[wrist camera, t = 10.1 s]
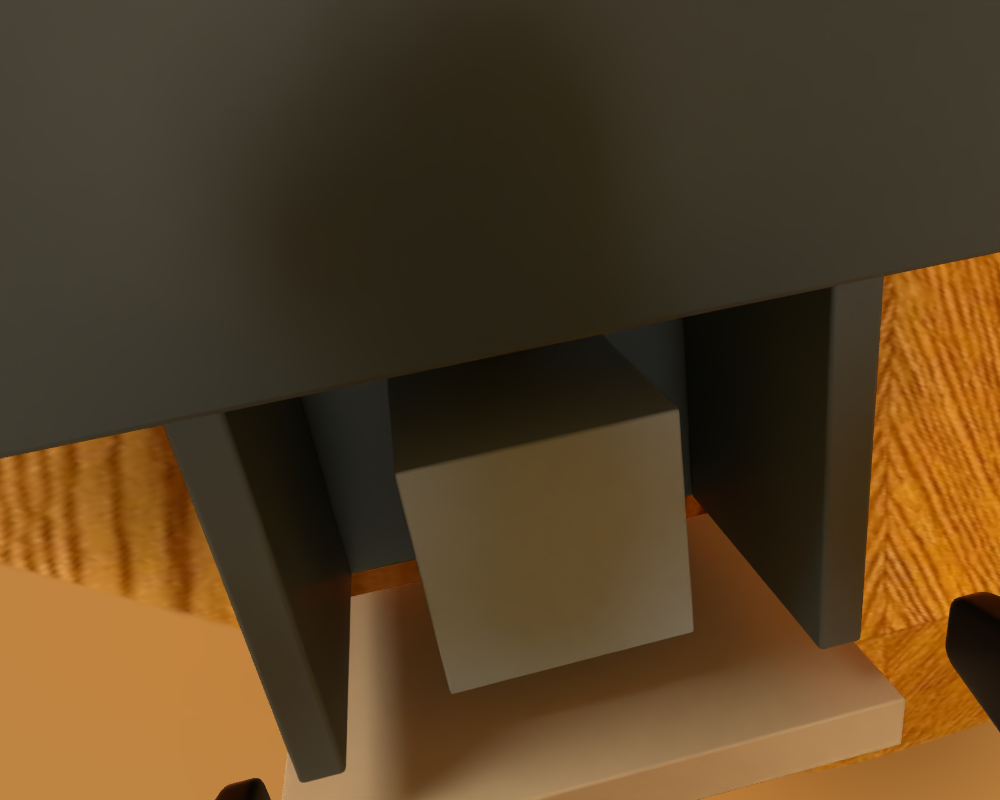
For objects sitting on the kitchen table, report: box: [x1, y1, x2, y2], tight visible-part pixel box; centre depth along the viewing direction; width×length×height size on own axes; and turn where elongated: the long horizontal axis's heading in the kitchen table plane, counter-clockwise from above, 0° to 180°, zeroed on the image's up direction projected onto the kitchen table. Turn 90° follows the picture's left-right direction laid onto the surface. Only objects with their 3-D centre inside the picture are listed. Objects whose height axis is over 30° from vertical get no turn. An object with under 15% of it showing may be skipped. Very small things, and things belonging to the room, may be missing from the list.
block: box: [387, 334, 694, 694], centre depth 14 cm, size 5×5×5 cm
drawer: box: [163, 276, 905, 800], centre depth 14 cm, size 14×12×7 cm
